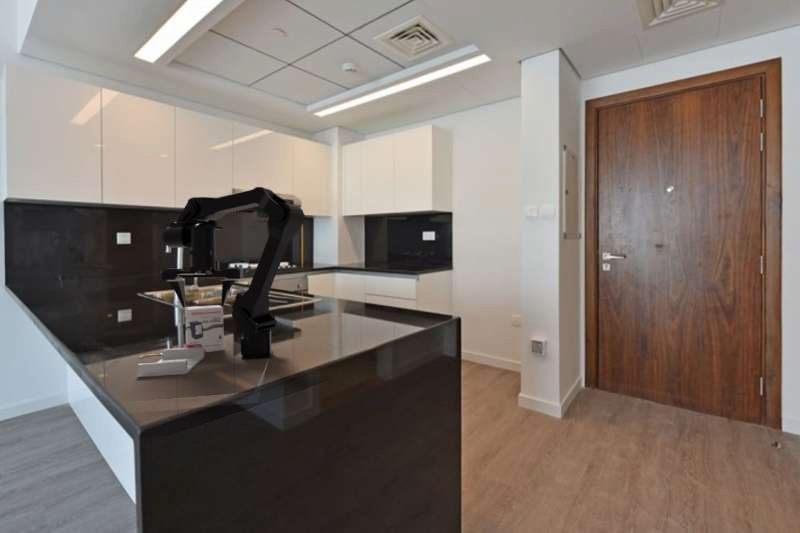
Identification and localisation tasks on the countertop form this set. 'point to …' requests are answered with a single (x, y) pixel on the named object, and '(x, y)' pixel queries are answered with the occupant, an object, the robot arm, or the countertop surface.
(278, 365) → the countertop surface
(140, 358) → the key
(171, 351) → the socket
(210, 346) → the ink box
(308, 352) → the countertop surface
